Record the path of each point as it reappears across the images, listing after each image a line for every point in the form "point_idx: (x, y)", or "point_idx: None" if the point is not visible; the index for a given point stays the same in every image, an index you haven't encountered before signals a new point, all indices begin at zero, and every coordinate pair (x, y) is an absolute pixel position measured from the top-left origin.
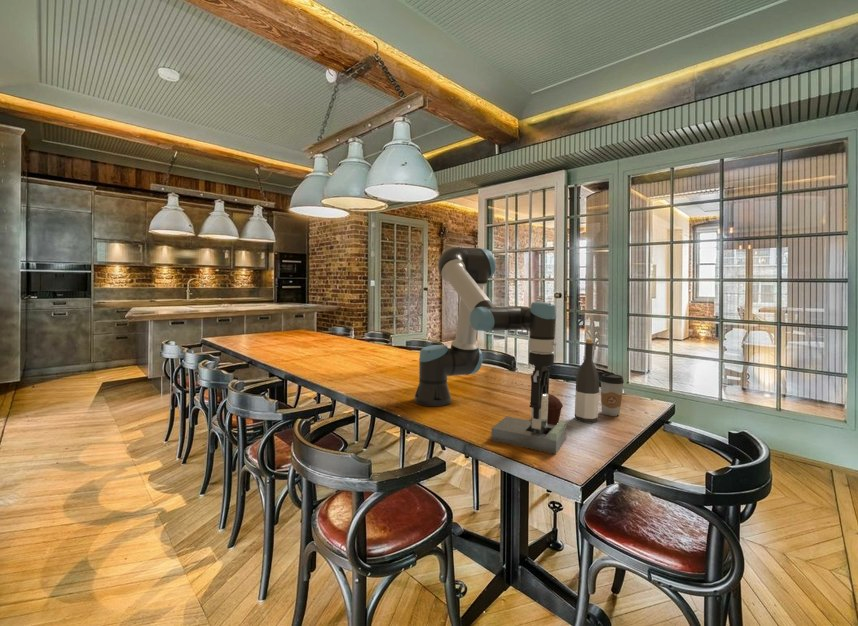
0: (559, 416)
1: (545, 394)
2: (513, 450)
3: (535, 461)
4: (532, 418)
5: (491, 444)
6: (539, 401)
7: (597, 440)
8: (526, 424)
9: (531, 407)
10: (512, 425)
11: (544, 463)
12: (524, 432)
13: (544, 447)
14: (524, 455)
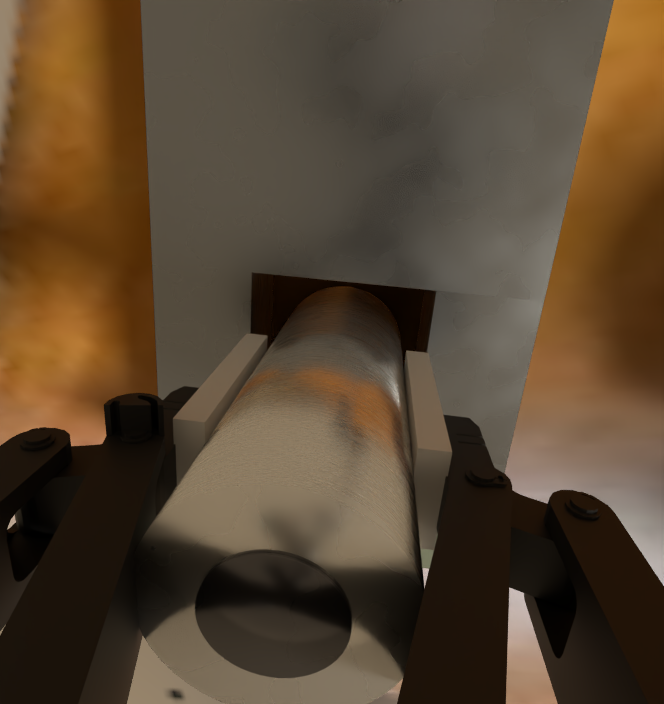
0: None
1: (300, 682)
2: (108, 211)
3: (38, 365)
4: (218, 367)
5: (115, 19)
6: (26, 583)
7: (532, 631)
8: (419, 249)
9: (272, 379)
10: (327, 128)
11: (44, 410)
12: (200, 275)
13: None
14: (76, 294)
